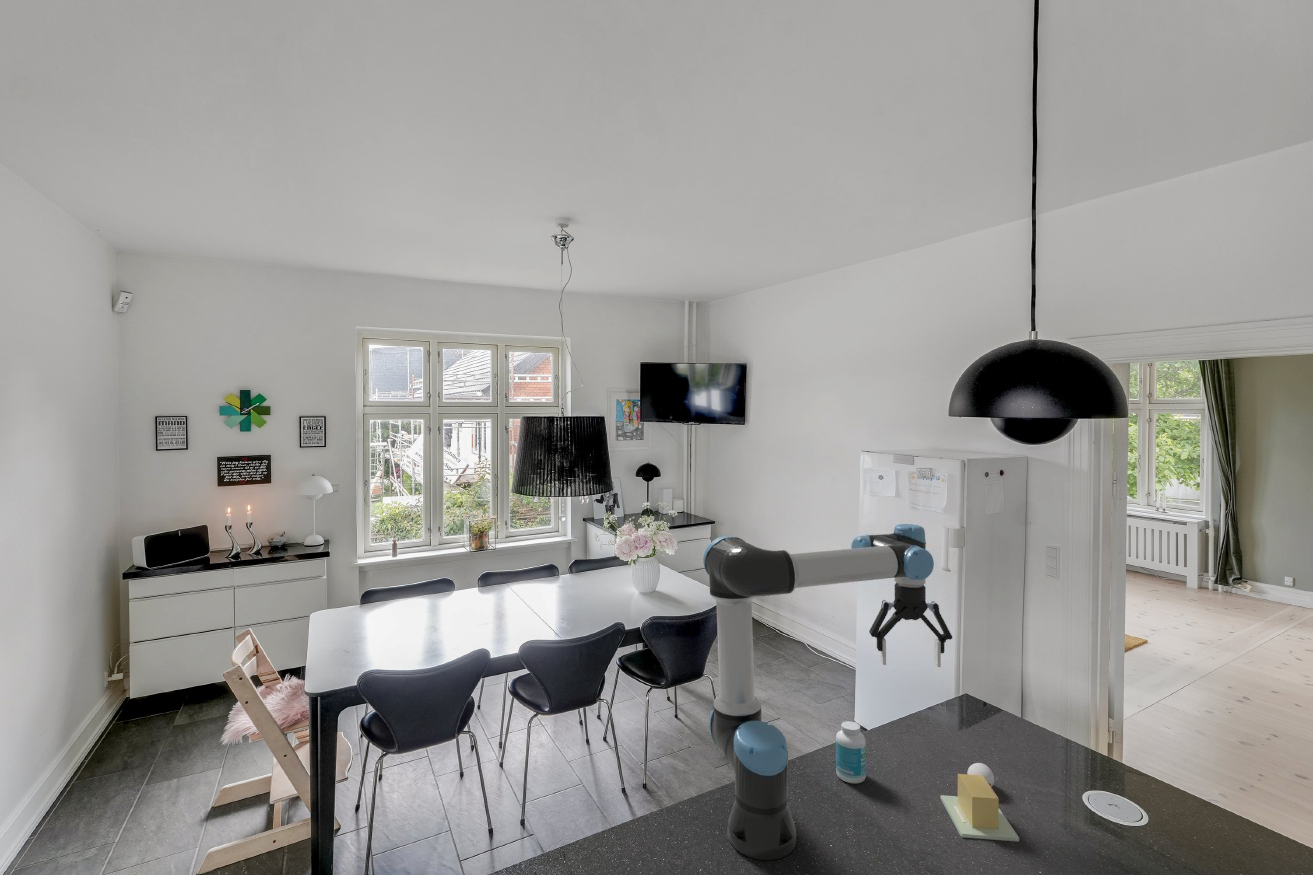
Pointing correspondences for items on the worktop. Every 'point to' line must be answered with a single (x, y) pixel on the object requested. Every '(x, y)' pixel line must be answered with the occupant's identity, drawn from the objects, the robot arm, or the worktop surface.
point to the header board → (968, 831)
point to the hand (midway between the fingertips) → (910, 663)
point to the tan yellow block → (978, 801)
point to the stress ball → (982, 772)
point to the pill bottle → (850, 753)
